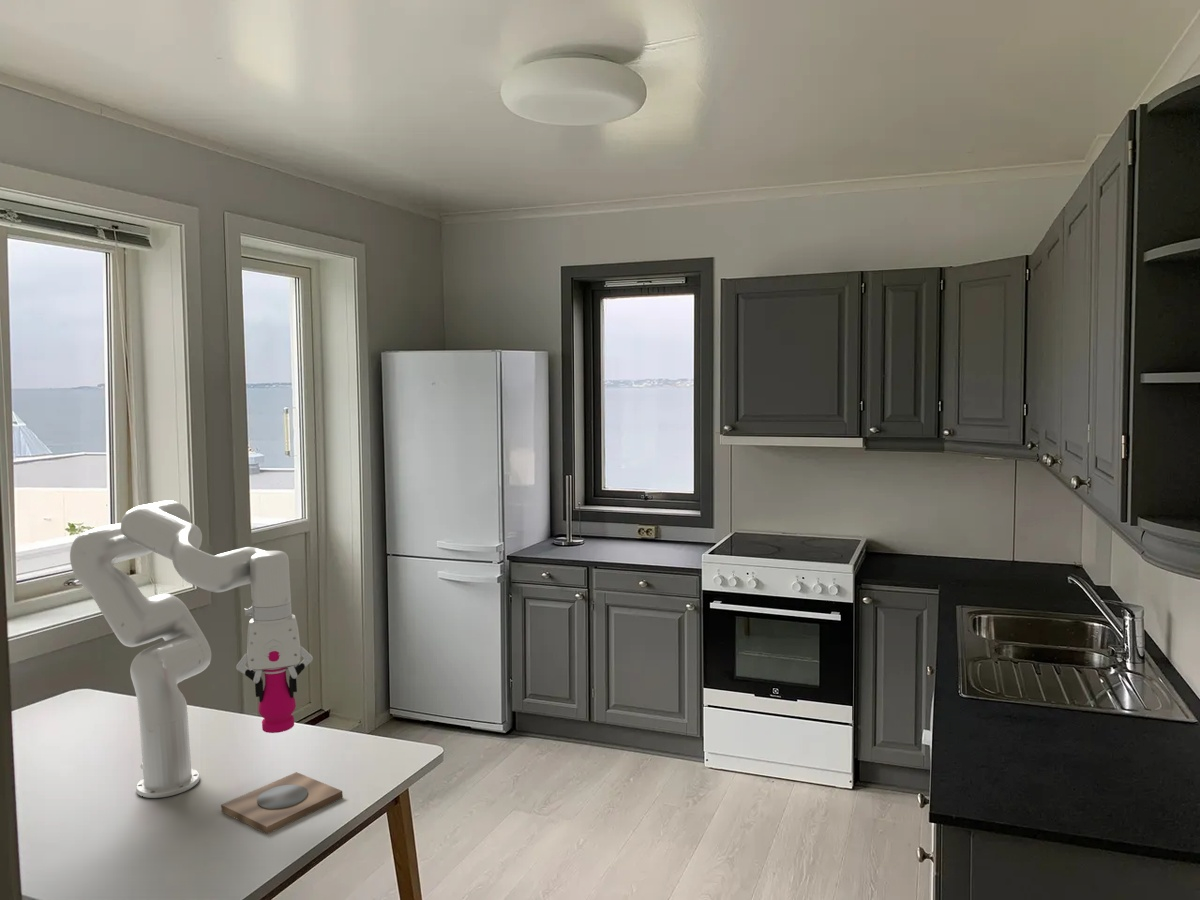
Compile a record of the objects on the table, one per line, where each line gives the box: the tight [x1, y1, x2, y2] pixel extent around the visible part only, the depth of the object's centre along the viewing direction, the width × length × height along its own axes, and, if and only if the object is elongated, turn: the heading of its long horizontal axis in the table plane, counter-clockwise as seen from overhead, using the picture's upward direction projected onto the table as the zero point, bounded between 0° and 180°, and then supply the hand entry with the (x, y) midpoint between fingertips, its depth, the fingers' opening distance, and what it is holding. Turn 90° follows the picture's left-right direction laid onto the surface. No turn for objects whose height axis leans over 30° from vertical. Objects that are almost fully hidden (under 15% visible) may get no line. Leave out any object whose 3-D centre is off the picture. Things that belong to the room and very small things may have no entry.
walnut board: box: [220, 771, 344, 835], centre depth 188 cm, size 16×18×2 cm
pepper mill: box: [258, 651, 297, 734], centre depth 186 cm, size 7×7×20 cm
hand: (276, 696), depth 186 cm, fingers closed on pepper mill, 5 cm apart
